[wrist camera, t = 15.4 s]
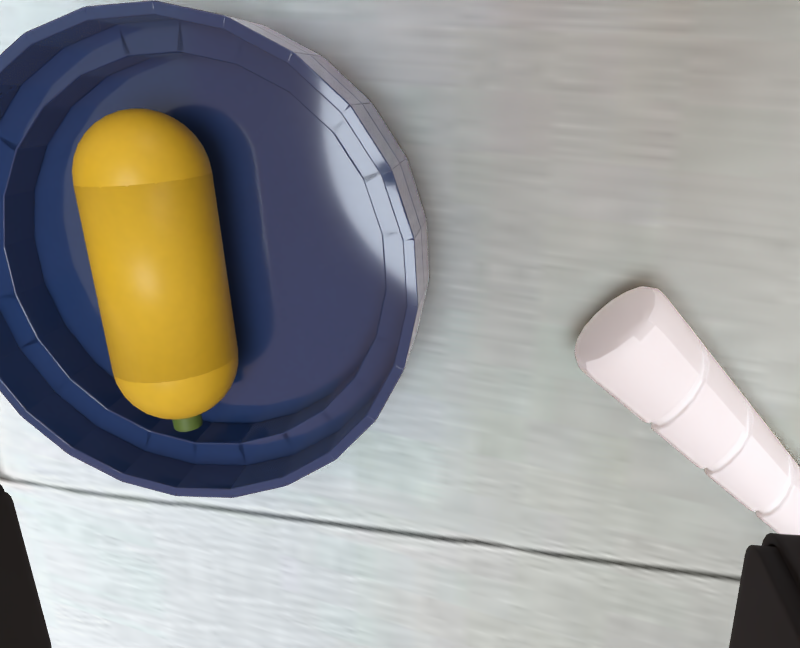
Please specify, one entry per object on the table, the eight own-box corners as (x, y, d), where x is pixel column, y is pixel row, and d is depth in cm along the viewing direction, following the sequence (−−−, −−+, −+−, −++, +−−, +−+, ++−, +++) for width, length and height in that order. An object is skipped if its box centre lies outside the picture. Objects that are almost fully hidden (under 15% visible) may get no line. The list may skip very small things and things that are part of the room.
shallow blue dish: (-40, 33, 33) (-130, 25, 28) (417, -6, 30) (400, -23, 25) (60, 443, 40) (1, 491, 35) (439, 450, 37) (429, 504, 32)
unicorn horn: (840, 655, 37) (886, 734, 33) (561, 330, 34) (570, 368, 29) (927, 614, 36) (987, 691, 31) (644, 268, 32) (667, 298, 28)
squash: (137, 107, 33) (27, 115, 28) (229, 101, 31) (125, 109, 26) (187, 394, 38) (100, 441, 33) (271, 410, 35) (190, 465, 31)
